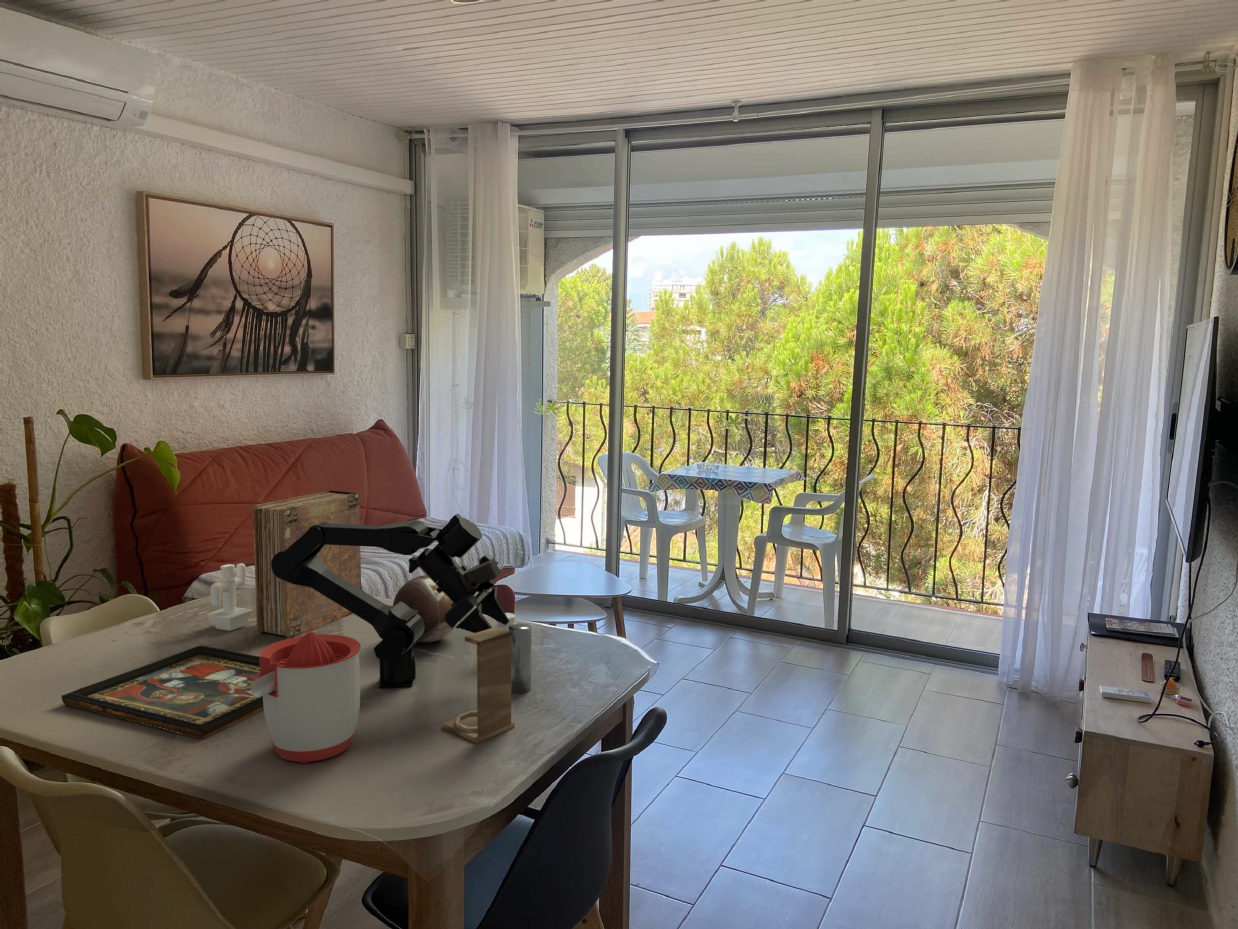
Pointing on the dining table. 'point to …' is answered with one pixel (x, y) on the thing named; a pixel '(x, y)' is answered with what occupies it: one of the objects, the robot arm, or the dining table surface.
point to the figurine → (229, 599)
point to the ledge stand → (488, 688)
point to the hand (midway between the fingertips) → (502, 630)
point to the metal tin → (520, 658)
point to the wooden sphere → (427, 606)
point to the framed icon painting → (180, 692)
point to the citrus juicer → (310, 695)
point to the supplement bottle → (511, 621)
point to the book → (289, 520)
